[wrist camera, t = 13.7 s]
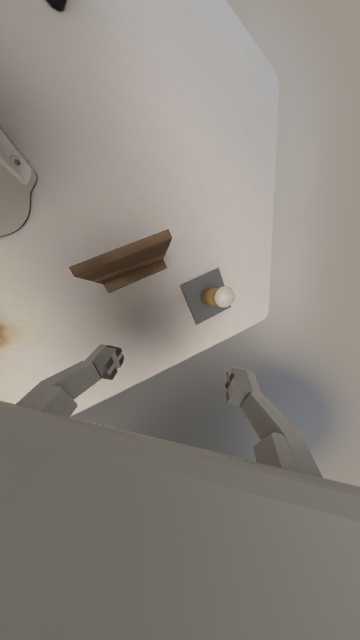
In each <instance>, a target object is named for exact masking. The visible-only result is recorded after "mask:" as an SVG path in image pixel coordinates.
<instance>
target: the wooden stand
mask: <svg viewBox="0 0 360 640" xmlns="http://www.w3.org/2000/svg"><path fill="white" fill-rule="evenodd" d="M171 239H172V237H171V234H170V232H169V229H167V230H165V231H162V232H160V233H157V234H154V235H152V236H149V237H147V238H144V239H141V240H139V241H136V242H134V243H131V244H128V245H126V246H123V247H120V248H118V249H115V250H113V251H110V252H107V253H105V254H102V255H100V256H97V257H94V258H92V259H89V260H86V261H84V262H81V263H79V264H76V265H73V266H71V267H69V269H70V270H71V272H72V273H73V275H74V276H75V277H78V278H82V279H86V280H90V281H93V282H97V283H101V284H104V286H105V288H106V289H107V291H108V292H109V293H110V292H112V291H114V290H117V289H119V288H121V287H124V286H126V285H128V284H131V283H133V282H135V281H138V280H140V279H142V278H145V277H147V276H149V275H152V274H154V273H156V272H159V271H161V270H163V269H166V268H167V267H166V265H165V263H164V260H163V258H164V256H165V254H166V251H167V249H168V246H169V244H170V242H171Z"/></svg>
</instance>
